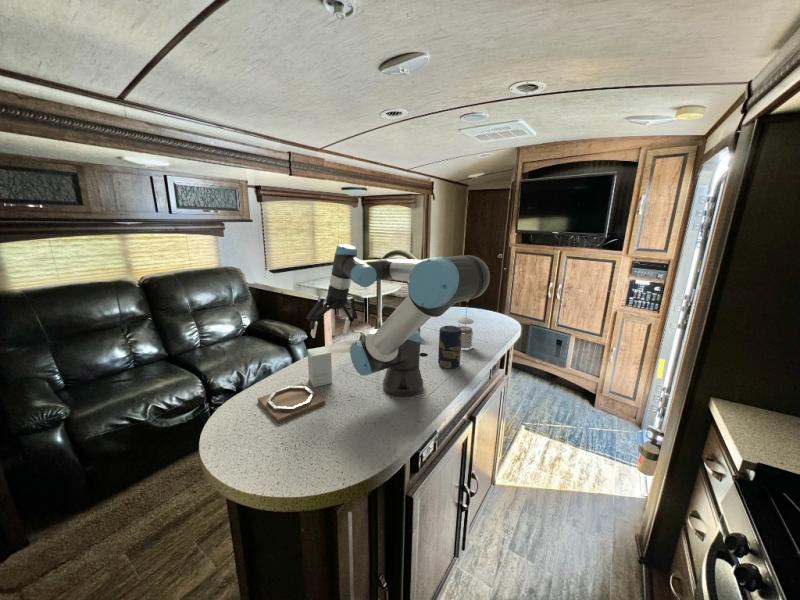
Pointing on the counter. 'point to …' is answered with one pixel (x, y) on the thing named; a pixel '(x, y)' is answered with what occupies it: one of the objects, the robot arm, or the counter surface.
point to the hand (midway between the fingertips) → (329, 334)
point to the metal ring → (278, 408)
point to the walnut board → (290, 403)
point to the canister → (449, 346)
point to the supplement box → (319, 366)
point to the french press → (466, 331)
